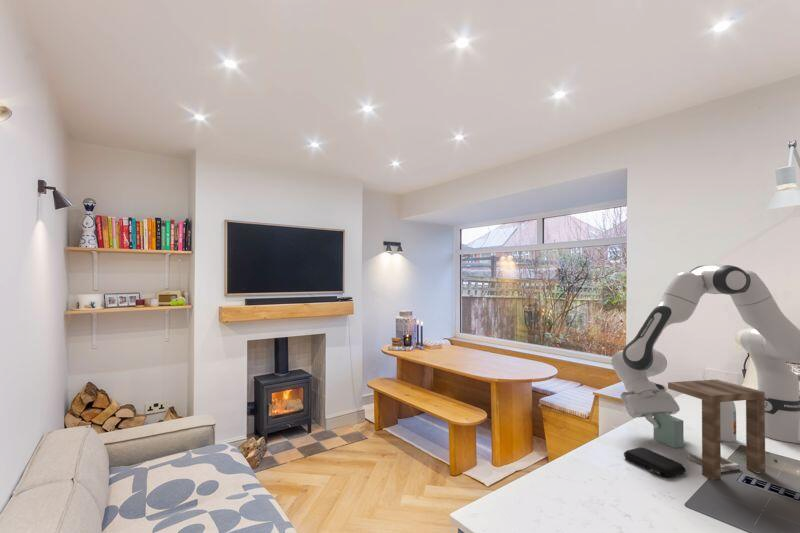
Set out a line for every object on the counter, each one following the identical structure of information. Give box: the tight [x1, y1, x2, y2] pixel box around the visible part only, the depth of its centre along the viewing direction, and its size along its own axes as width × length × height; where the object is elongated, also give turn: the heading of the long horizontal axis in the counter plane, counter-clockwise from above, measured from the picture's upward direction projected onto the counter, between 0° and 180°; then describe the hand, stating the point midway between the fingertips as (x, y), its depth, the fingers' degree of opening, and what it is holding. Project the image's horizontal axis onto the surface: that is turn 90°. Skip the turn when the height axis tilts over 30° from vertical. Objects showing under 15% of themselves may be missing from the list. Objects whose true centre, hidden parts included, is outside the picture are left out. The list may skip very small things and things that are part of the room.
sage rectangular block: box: [653, 412, 685, 449], centre depth 134 cm, size 4×8×9 cm, turn 13°
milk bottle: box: [720, 401, 737, 443], centre depth 139 cm, size 8×8×20 cm
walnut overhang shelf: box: [667, 379, 766, 481], centre depth 119 cm, size 20×14×24 cm
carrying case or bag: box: [623, 447, 687, 479], centre depth 117 cm, size 11×3×15 cm
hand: (664, 426), depth 136 cm, fingers closed on sage rectangular block, 4 cm apart
